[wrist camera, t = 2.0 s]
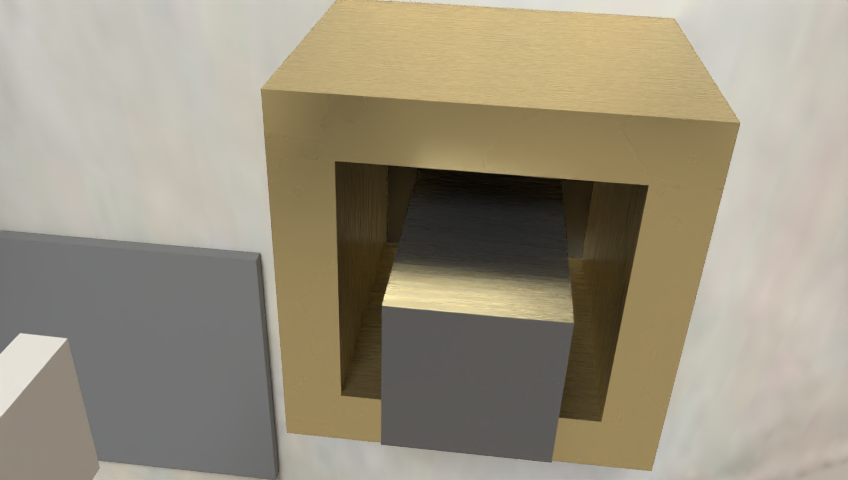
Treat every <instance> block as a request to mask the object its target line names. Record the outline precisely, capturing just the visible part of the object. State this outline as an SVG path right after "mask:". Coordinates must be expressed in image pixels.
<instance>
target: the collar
mask: <svg viewBox="0 0 848 480" xmlns="http://www.w3.org/2000/svg"><path fill="white" fill-rule="evenodd" d="M261 96H262V110H263V123H264V136H265V149H266V162H267V175H268V189H269V202H270V215H271V228H272V241H273V255H274V268H275V281H276V294H277V307H278V320H279V334H280V347H281V360H282V373H283V386H284V399H285V413H286V426H287V433H295V434H305V435H314V436H324V437H333V438H343V439H352V440H362V441H371V442H381V362H382V304H383V300H384V296H385V292H386V289H387V285H388V281H389V278H390V274H391V270H392V267H393V263H394V259H395V256H396V252H397V248H398V244H399V243H393V242H387V173H388V165H393V166H406V167H419V168H432V169H444V170H457V171H470V172H483V173H496V174H509V175H522V176H535V177H548V178H560V179H573V180H586V181H594V185H593V191H592V197H591V203H590V210H589V216H588V222H587V228H586V235H585V241H584V247H583V253H582V259H581V258H569V257H568V262H569V273H570V284H571V294H572V305H573V316H574V328H573V334H572V340H571V346H570V352H569V358H568V365H567V371H566V377H565V383H564V389H563V395H562V401H561V408H560V414H559V420H558V426H557V432H556V438H555V445H554V451H553V457H552V461H561V462H571V463H580V464H590V465H599V466H609V467H618V468H628V469H637V470H647V471H652V467H653V463H654V459H655V455H656V452H657V448H658V444H659V440H660V436H661V432H662V428H663V424H664V420H665V416H666V412H667V408H668V404H669V401H670V397H671V393H672V389H673V385H674V381H675V377H676V373H677V369H678V365H679V361H680V357H681V354H682V350H683V346H684V342H685V338H686V334H687V330H688V326H689V322H690V318H691V314H692V310H693V306H694V303H695V299H696V295H697V291H698V287H699V283H700V279H701V275H702V271H703V267H704V263H705V259H706V255H707V252H708V248H709V244H710V240H711V236H712V232H713V228H714V224H715V220H716V216H717V212H718V208H719V205H720V201H721V197H722V193H723V189H724V185H725V181H726V177H727V173H728V169H729V165H730V161H731V157H732V154H733V150H734V146H735V142H736V138H737V134H738V130H739V126H740V121H739V120H738V118H737V117H736V115H735V113H734V112H733V110H732V109H731V107H730V106H729V104H728V102H727V101H726V99H725V98H724V96H723V94H722V93H721V91H720V90H719V88H718V87H717V85H716V83H715V82H714V80H713V79H712V77H711V75H710V74H709V72H708V71H707V69H706V68H705V66H704V64H703V63H702V61H701V60H700V58H699V57H698V55H697V53H696V52H695V50H694V49H693V47H692V45H691V44H690V42H689V41H688V39H687V38H686V36H685V34H684V33H683V31H682V30H681V28H680V26H679V25H678V23H677V22H676V20H675V19H671V18H654V17H638V16H622V15H605V14H589V13H573V12H556V11H540V10H524V9H507V8H491V7H475V6H458V5H442V4H426V3H409V2H393V1H377V0H336V1H335V2H334V4H333V5H332V6H331V7H330V8H329V10H328V11H327V12H326V13H325V14H324V15H323V17H322V18H321V19H320V20H319V21H318V22H317V24H316V25H315V26H314V27H313V28H312V29H311V31H310V32H309V33H308V34H307V35H306V36H305V38H304V39H303V40H302V41H301V42H300V44H299V45H298V46H297V47H296V48H295V49H294V51H293V52H292V53H291V54H290V55H289V56H288V58H287V59H286V60H285V61H284V62H283V63H282V65H281V66H280V67H279V68H278V69H277V71H276V72H275V73H274V74H273V75H272V76H271V78H270V79H269V80H268V81H267V82H266V83H265V85H264V86H263V87H262V88H261Z"/></svg>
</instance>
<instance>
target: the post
mask: <svg viewBox="0 0 848 480" xmlns="http://www.w3.org/2000/svg"><path fill="white" fill-rule="evenodd" d="M573 328H574V316H573V305H572V294H571V284H570V273H569V262H568V251H567V240H566V230H565V219H564V208H563V197H562V186H561V179H560V178H548V177H535V176H522V175H509V174H496V173H483V172H470V171H457V170H444V169H432V168H419V170H418V174H417V178H416V182H415V185H414V189H413V193H412V196H411V200H410V204H409V207H408V211H407V215H406V219H405V222H404V226H403V230H402V233H401V237H400V241H399V244H398V248H397V252H396V256H395V259H394V263H393V267H392V270H391V274H390V278H389V281H388V285H387V289H386V292H385V296H384V300H383V304H382V362H381V445H391V446H400V447H410V448H419V449H429V450H438V451H447V452H457V453H466V454H476V455H485V456H495V457H504V458H514V459H523V460H533V461H542V462H552V457H553V451H554V445H555V438H556V432H557V426H558V420H559V414H560V408H561V401H562V395H563V389H564V383H565V377H566V371H567V365H568V358H569V352H570V346H571V340H572V334H573Z"/></svg>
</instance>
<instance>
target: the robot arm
mask: <svg viewBox="0 0 848 480" xmlns="http://www.w3.org/2000/svg"><path fill="white" fill-rule="evenodd" d="M99 468H100V467H99V463H98V459H97V455H96V451H95V447H94V443H93V439H92V435H91V431H90V427H89V423H88V419H87V415H86V411H85V407H84V403H83V399H82V395H81V391H80V386H79V382H78V378H77V374H76V370H75V366H74V362H73V358H72V354H71V350H70V346H69V342H68V338H59V337H50V336H41V335H32V334H23V333H20V334H19V335H18V336H17V337H16V338H15V339H14V340H13V341H12V342H11V343H10V344H9V345H8V346H7V347H6V348H5V350H4V351H3V352H2V353H1V354H0V480H92V479H93V478H94V476H95V474H96V473H97V471H98V470H99Z"/></svg>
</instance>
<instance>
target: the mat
mask: <svg viewBox="0 0 848 480" xmlns="http://www.w3.org/2000/svg"><path fill="white" fill-rule="evenodd" d="M20 333H23V334H32V335H41V336H50V337H59V338H68V342H69V346H70V350H71V354H72V358H73V362H74V366H75V370H76V374H77V378H78V382H79V386H80V391H81V395H82V399H83V403H84V407H85V411H86V415H87V419H88V423H89V427H90V431H91V435H92V439H93V443H94V447H95V451H96V455H97V459H98V460H100V461H109V462H118V463H127V464H136V465H145V466H154V467H164V468H173V469H182V470H191V471H200V472H209V473H218V474H227V475H236V476H245V477H254V478H263V479H272V480H276V477H277V475H278V472H279V469H278V457H277V446H276V434H275V422H274V411H273V399H272V388H271V376H270V364H269V353H268V341H267V329H266V318H265V306H264V295H263V283H262V271H261V260H260V253H252V252H240V251H229V250H217V249H206V248H194V247H183V246H172V245H160V244H149V243H137V242H126V241H114V240H103V239H92V238H80V237H69V236H57V235H46V234H34V233H23V232H11V231H0V354H1V353H2V352H3V351H4V350H5V348H6V347H7V346H8V345H9V344H10V343H11V342H12V341H13V340H14V339H15V338H16V337H17V336H18V335H19V334H20Z"/></svg>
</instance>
